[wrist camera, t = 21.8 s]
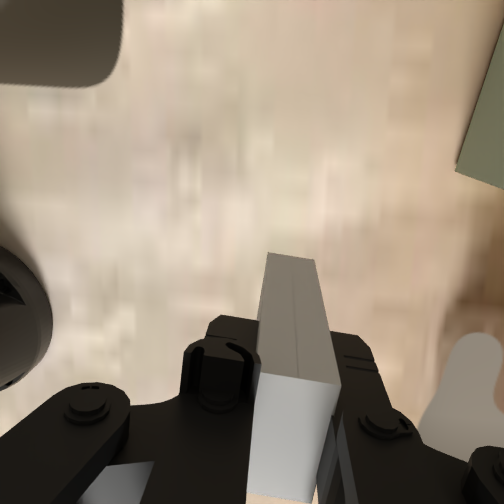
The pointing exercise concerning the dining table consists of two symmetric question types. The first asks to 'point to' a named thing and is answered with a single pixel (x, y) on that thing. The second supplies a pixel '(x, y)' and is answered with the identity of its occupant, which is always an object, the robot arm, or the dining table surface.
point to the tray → (487, 127)
